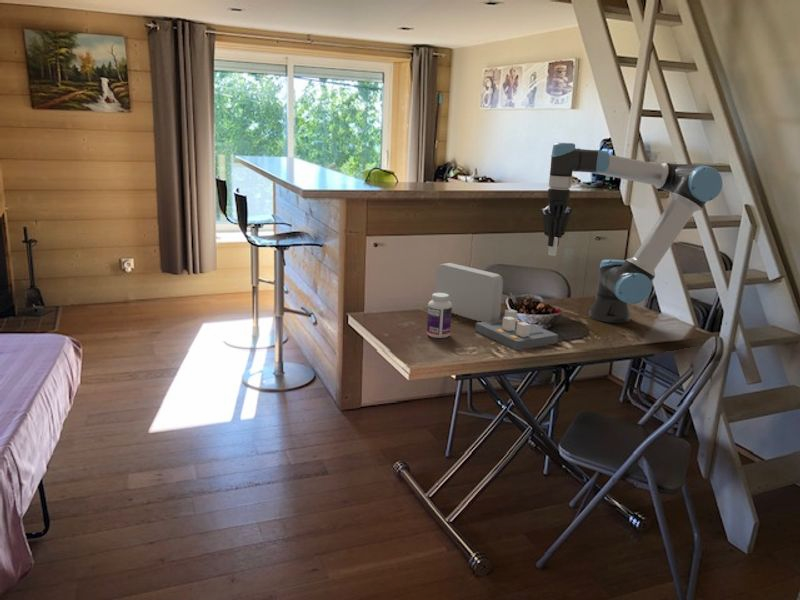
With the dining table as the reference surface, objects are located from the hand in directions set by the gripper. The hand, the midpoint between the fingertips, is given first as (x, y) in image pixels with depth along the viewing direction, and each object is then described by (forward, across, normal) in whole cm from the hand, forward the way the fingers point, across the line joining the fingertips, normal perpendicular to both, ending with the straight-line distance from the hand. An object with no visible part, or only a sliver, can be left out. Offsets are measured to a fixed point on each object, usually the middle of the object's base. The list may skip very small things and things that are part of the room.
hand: (552, 255), depth 224 cm
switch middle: (+23, +22, +6) cm, 33 cm away
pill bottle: (+27, +43, -6) cm, 51 cm away
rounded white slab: (+27, +19, -23) cm, 40 cm away
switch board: (+26, +19, +6) cm, 33 cm away
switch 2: (+23, +22, +13) cm, 35 cm away
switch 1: (+23, +16, -1) cm, 28 cm away
